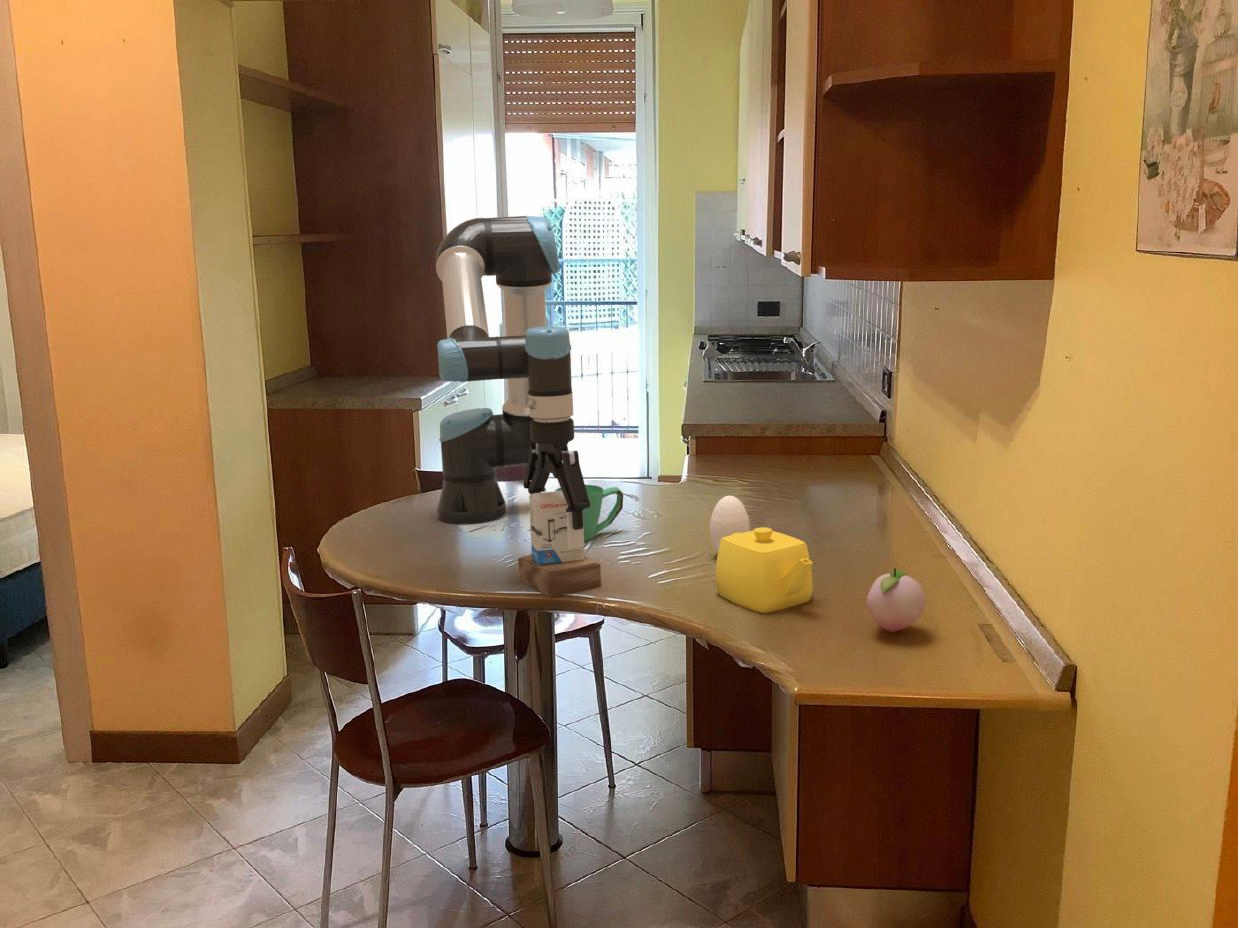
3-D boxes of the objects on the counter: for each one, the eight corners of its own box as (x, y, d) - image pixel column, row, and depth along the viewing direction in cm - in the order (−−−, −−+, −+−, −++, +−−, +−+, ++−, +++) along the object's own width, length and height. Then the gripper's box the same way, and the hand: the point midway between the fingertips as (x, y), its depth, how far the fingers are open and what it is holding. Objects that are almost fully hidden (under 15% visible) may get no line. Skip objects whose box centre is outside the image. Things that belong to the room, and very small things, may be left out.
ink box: (538, 566, 179) (534, 500, 177) (531, 558, 184) (527, 493, 182) (585, 559, 182) (583, 494, 179) (578, 552, 187) (575, 488, 184)
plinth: (519, 579, 186) (518, 556, 185) (568, 568, 191) (567, 546, 190) (550, 597, 176) (548, 573, 175) (601, 585, 181) (600, 562, 180)
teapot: (837, 607, 167) (837, 537, 165) (777, 624, 161) (777, 551, 158) (757, 576, 184) (757, 511, 181) (701, 590, 177) (699, 523, 175)
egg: (702, 556, 196) (700, 496, 193) (729, 548, 200) (728, 489, 198) (730, 565, 190) (729, 503, 188) (758, 556, 195) (757, 495, 192)
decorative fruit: (920, 646, 150) (922, 580, 148) (863, 640, 153) (864, 575, 151) (927, 624, 159) (929, 561, 156) (872, 618, 162) (873, 556, 159)
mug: (569, 547, 204) (566, 498, 202) (549, 536, 213) (546, 488, 211) (634, 536, 211) (633, 488, 209) (613, 525, 219) (611, 479, 217)
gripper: (500, 411, 186) (507, 526, 191) (566, 431, 165) (572, 558, 170) (538, 407, 190) (544, 519, 194) (607, 425, 169) (612, 550, 173)
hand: (557, 538), depth 182 cm, fingers open, 13 cm apart
